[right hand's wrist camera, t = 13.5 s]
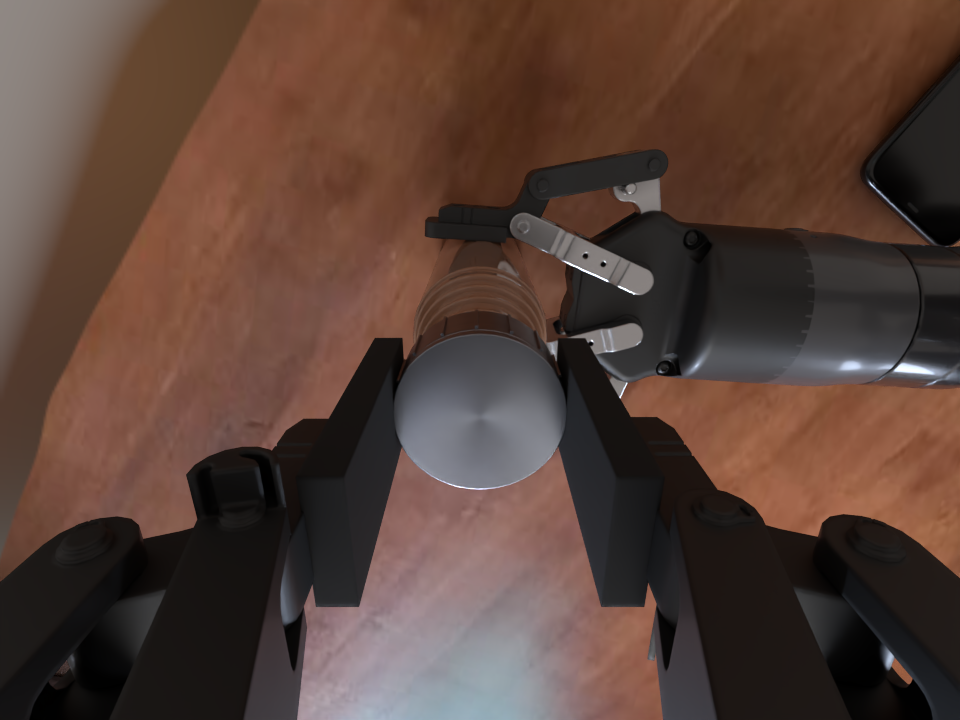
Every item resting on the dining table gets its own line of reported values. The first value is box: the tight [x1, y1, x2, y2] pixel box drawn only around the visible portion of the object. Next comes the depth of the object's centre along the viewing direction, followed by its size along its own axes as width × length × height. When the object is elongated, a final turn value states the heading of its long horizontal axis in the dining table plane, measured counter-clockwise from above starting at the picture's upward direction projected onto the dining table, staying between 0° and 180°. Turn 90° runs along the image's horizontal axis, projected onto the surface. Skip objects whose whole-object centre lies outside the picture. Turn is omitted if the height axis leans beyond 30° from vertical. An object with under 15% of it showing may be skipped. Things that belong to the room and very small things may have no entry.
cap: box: [393, 309, 567, 489], centre depth 14 cm, size 4×4×2 cm
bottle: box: [413, 238, 547, 344], centre depth 22 cm, size 5×5×19 cm
